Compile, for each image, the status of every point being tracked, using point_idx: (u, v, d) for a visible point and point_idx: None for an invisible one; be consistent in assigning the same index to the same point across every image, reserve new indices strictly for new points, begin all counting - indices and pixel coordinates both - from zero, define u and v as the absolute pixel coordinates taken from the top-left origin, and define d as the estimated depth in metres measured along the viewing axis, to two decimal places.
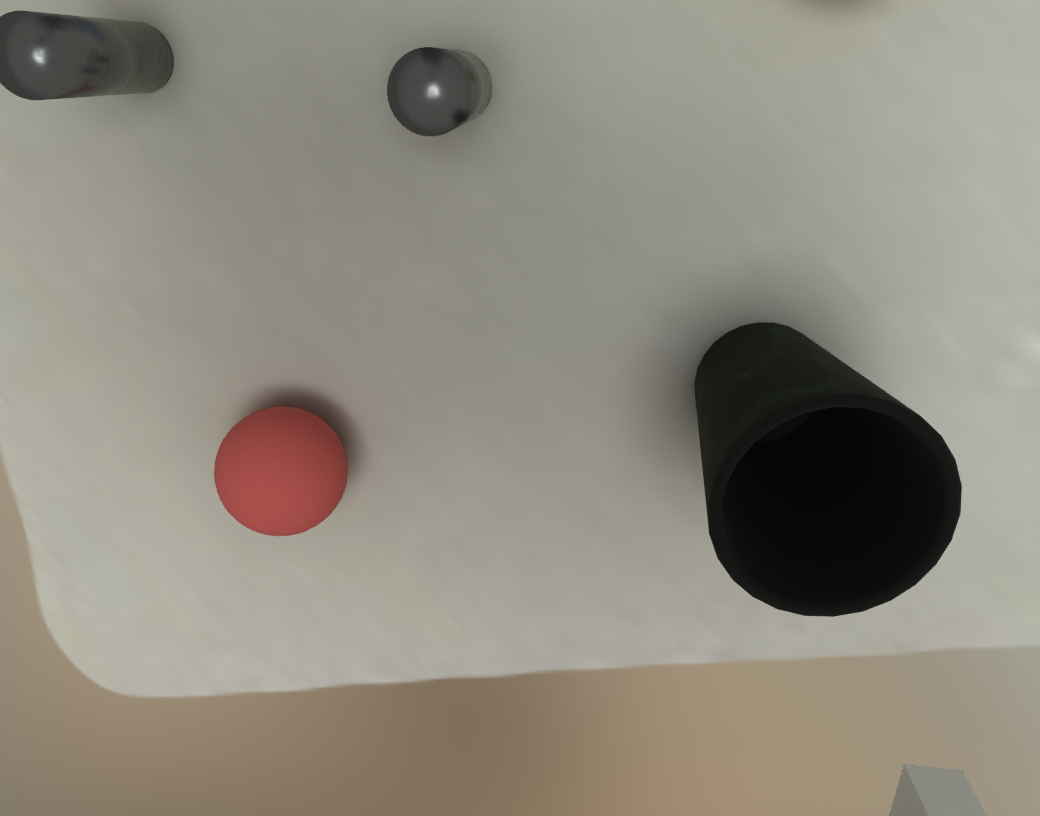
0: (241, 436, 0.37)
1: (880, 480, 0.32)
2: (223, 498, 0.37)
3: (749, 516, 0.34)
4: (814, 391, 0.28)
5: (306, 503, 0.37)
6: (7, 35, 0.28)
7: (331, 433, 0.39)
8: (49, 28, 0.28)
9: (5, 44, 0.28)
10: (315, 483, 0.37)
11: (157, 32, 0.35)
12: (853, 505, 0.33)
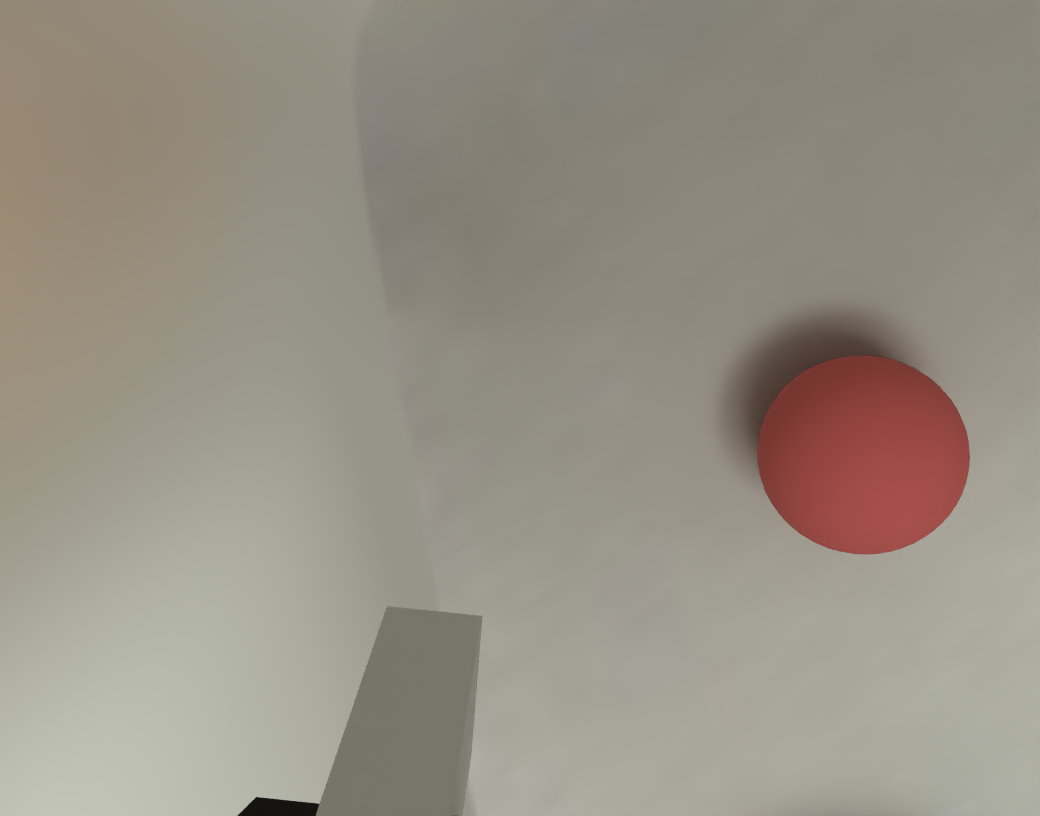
0: (964, 439, 0.24)
1: None
2: (875, 415, 0.23)
3: None
4: None
5: (859, 543, 0.24)
6: None
7: None
8: None
9: None
10: (883, 550, 0.24)
11: None
12: None
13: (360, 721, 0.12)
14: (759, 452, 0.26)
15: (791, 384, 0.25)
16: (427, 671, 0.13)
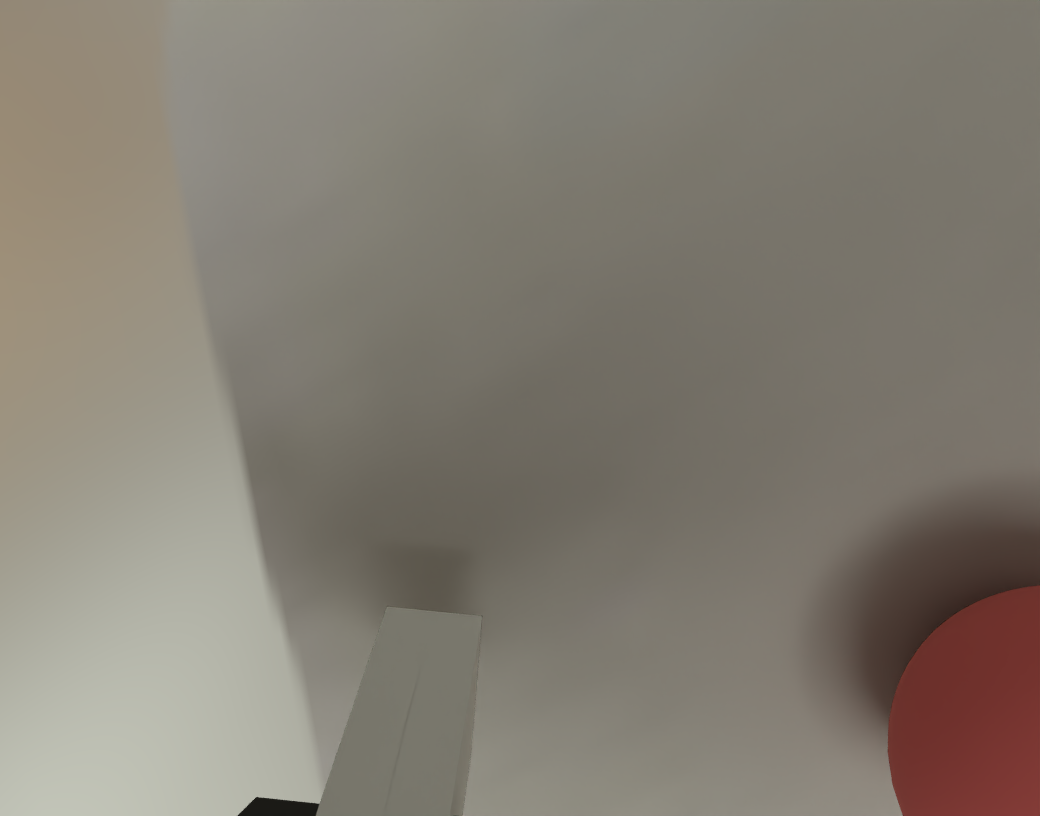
0: None
1: None
2: None
3: None
4: None
5: None
6: None
7: None
8: None
9: None
10: None
11: None
12: None
13: (360, 721, 0.12)
14: (897, 759, 0.14)
15: (959, 643, 0.14)
16: (427, 671, 0.13)
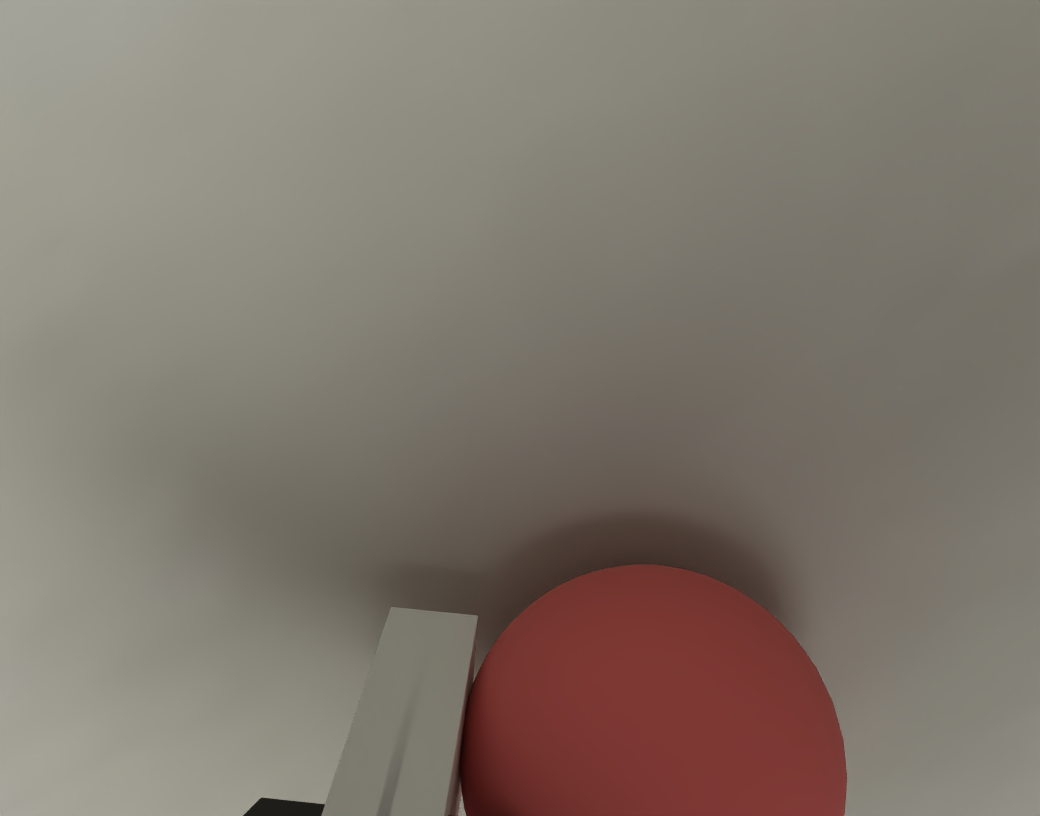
0: (839, 741, 0.12)
1: None
2: (681, 750, 0.11)
3: None
4: None
5: None
6: None
7: None
8: None
9: None
10: None
11: None
12: None
13: (365, 721, 0.12)
14: (461, 782, 0.13)
15: (511, 648, 0.13)
16: (422, 670, 0.13)
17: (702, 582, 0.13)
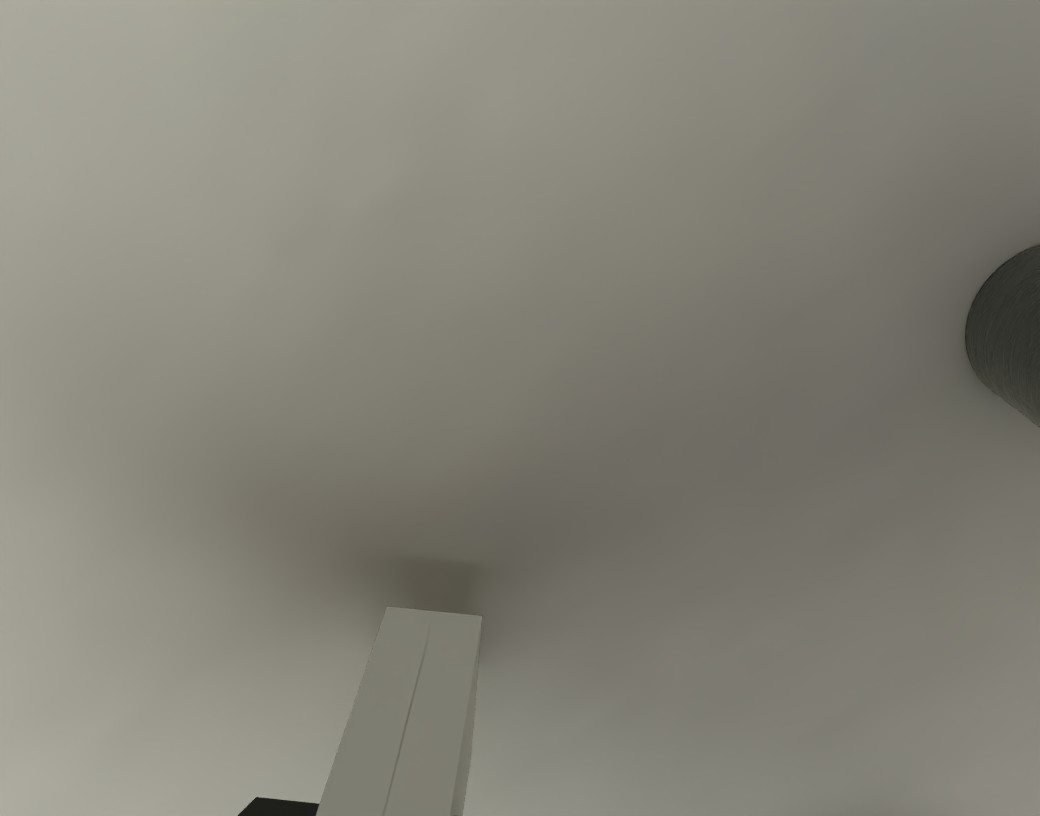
0: None
1: None
2: None
3: None
4: None
5: None
6: None
7: None
8: None
9: None
10: None
11: None
12: None
13: (360, 721, 0.12)
14: None
15: None
16: (427, 671, 0.13)
17: None
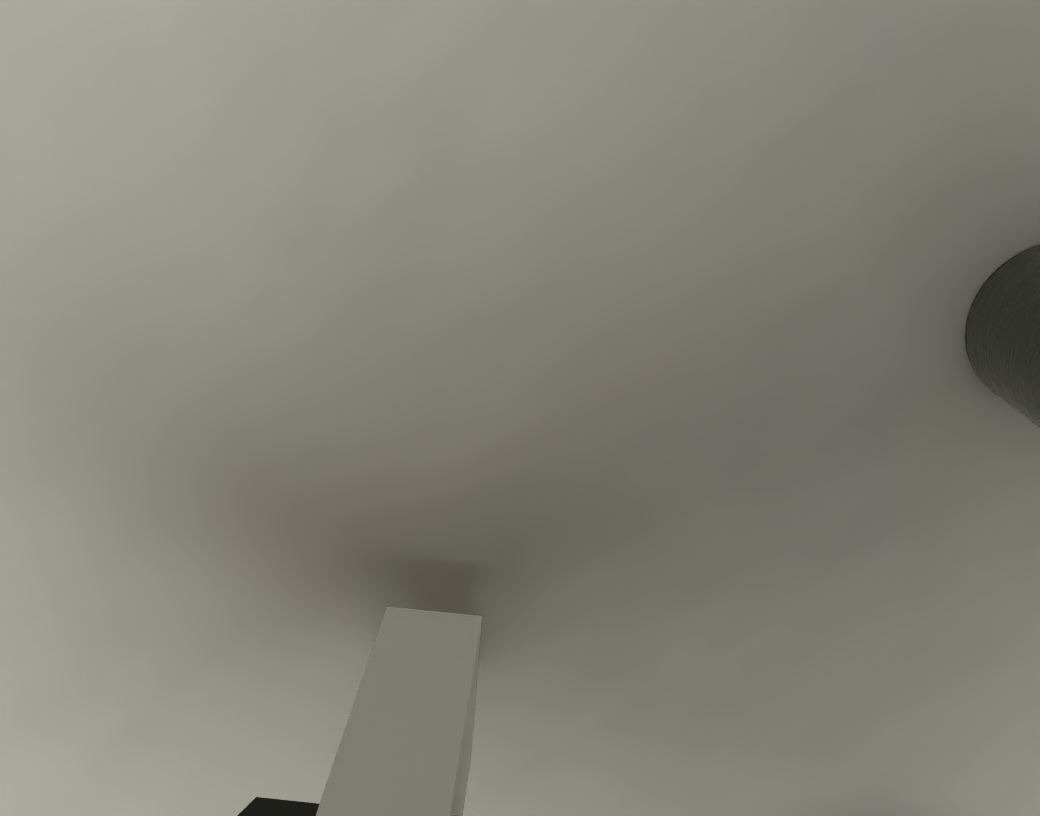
0: None
1: None
2: None
3: None
4: None
5: None
6: None
7: None
8: None
9: None
10: None
11: None
12: None
13: (360, 721, 0.12)
14: None
15: None
16: (427, 671, 0.13)
17: None
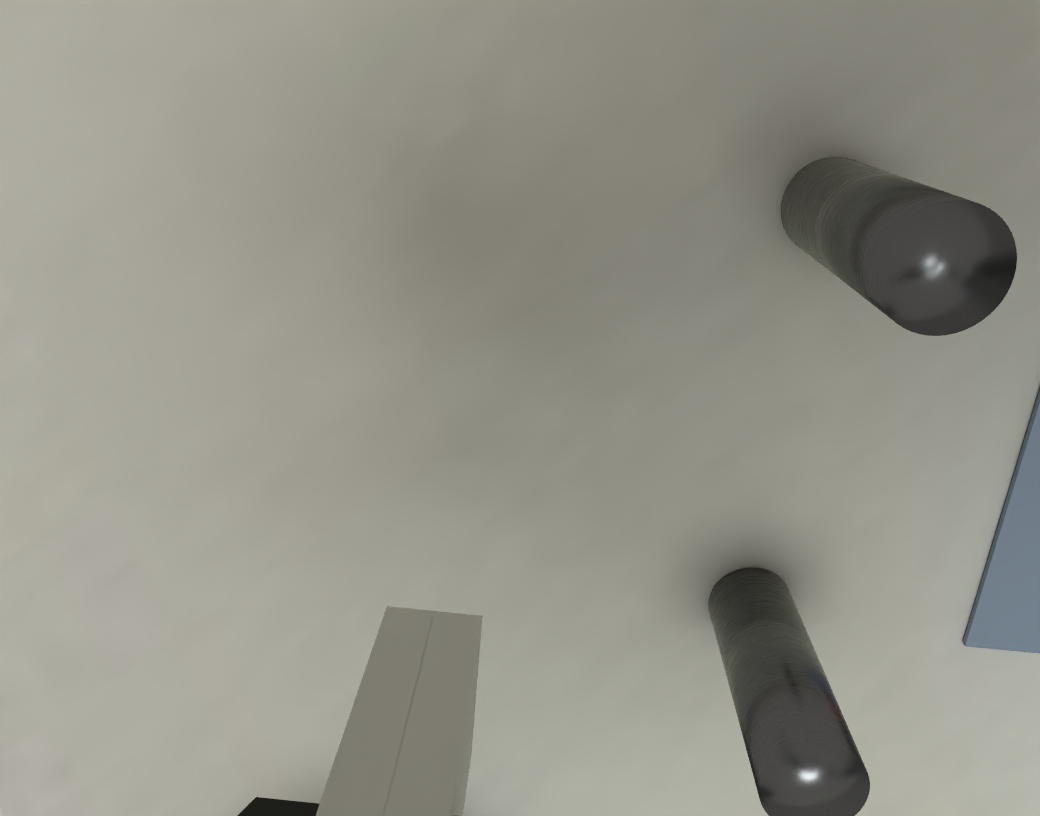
0: None
1: None
2: None
3: None
4: None
5: None
6: (982, 242, 0.17)
7: None
8: (980, 313, 0.18)
9: (969, 234, 0.17)
10: None
11: None
12: None
13: (360, 721, 0.12)
14: None
15: None
16: (427, 671, 0.13)
17: None
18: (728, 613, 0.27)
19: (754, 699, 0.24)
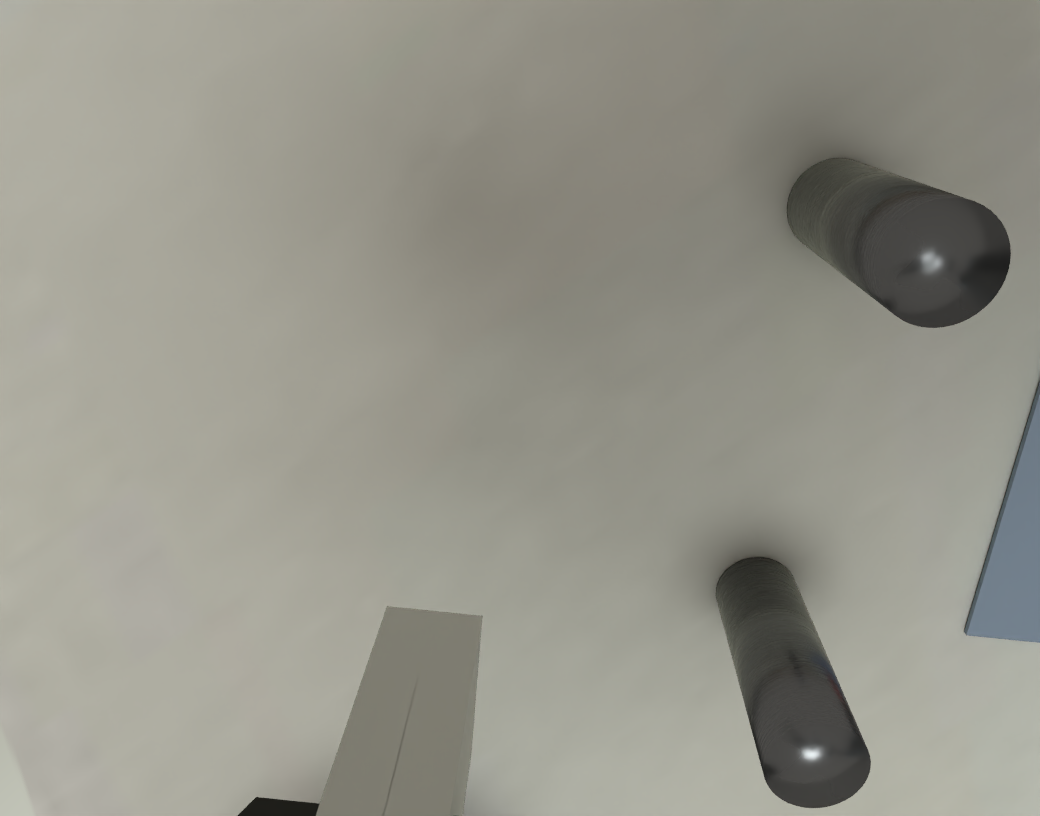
0: None
1: None
2: None
3: None
4: None
5: None
6: (977, 238, 0.18)
7: None
8: (975, 306, 0.18)
9: (965, 231, 0.18)
10: None
11: None
12: None
13: (360, 721, 0.12)
14: None
15: None
16: (427, 671, 0.13)
17: None
18: (734, 601, 0.28)
19: (759, 681, 0.24)
